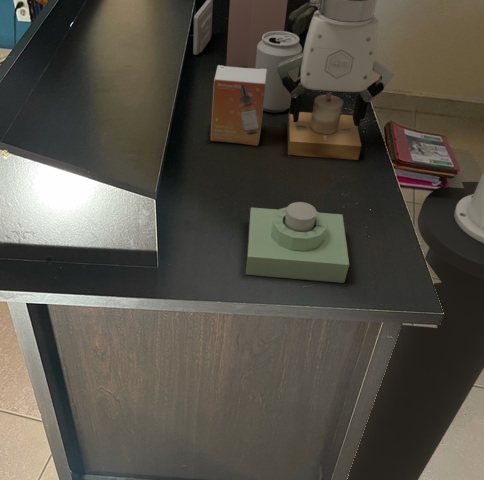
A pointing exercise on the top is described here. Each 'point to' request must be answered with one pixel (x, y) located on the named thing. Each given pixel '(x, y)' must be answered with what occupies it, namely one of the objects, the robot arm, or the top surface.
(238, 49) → the greeting card
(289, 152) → the panel
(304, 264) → the green push button box
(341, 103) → the dial
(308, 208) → the button
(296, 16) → the dark ridged elongated shape
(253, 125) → the small box
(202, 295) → the top surface
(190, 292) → the top surface
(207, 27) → the cassette
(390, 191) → the top surface
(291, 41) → the can
